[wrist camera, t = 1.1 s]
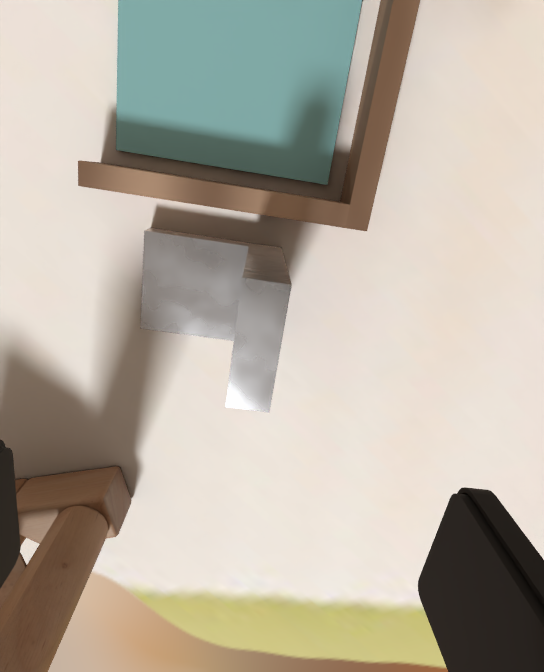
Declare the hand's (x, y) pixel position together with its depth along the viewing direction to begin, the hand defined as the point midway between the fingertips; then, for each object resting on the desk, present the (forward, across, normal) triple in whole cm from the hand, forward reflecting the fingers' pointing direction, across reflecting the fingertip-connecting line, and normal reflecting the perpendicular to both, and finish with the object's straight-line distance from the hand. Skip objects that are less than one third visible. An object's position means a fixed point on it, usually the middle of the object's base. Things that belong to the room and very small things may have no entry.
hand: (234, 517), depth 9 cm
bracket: (+19, +2, 0) cm, 19 cm away
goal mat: (+19, +2, -14) cm, 24 cm away
